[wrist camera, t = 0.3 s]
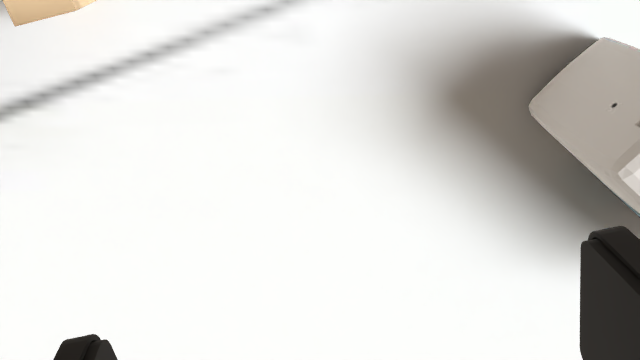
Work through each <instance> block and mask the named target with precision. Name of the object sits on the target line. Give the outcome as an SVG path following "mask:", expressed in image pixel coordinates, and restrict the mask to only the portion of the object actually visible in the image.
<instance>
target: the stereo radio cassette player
mask: <svg viewBox="0 0 640 360" xmlns="http://www.w3.org/2000/svg"><path fill="white" fill-rule="evenodd" d="M528 106H529V110H530V113H531V115H532V116H533V117H534V118H535V119H536V120H537V121H538V122H539V123H540V124H541V125H542V126H543V127H544V128H545V129H546V130H547V131H548V132H549V133H550V134H551V135H552V136H553V137H554V138H555V139H556V140H557V141H559V142H560V143H561V144H562V145H563V146H564V147H565V148H566V149H567V150H568V151H569V152H570V153H572V154H573V155H574V156H575V157H576V158H577V159H578V160H579V161H580V162H581V163H582V164H583V165H585V166H586V167H587V168H588V169H589V170H590V171H591V173H592V174H593V175H594V176H596V177H597V178H598V179H599V180H600V181H601V182H602V183H603V184H604V185H605V186H606V187H608V188H609V189H610V190H611V191H612V192H613V193H614V194H615V195H616V196H617V197H618V198H619V199H620V200H622V201H623V202H624V203H625V204H626V205H627V206H628V207H629V208H630V209H631V210H632V211H633V212H635V213H636V214H637V215H638V216H639V217H640V49H638V48H635V47H632V46H629V45H627V44H624V43H621V42H619V41H616V40H613V39H610V38H605V37H604V38H601V39H599V40H598V41H596V42H595V43H594V44H592V45H591V46H590V47H589V48H587V49H586V50H585V51H584V52H582V53H581V54H580V55H579V56H578V57H576V58H575V59H574V60H573V61H571V62H570V63H569V64H568V65H567V66H566V67H565V68H564V69H563V70H562V71H561V72H559V73H558V74H557V75H556V76H555V77H554V78H553V79H552V80H551V81H550V82H549V83H548V84H547V85H546V86H545V87H544V88H543V89H542V90H541V91H540V92H539V93H538V94H537V95H536V96H535V97H534V98H533V99H532V100H531V102H530V104H529V105H528Z"/></svg>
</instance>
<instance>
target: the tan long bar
mask: <svg viewBox="0 0 640 360" xmlns="http://www.w3.org/2000/svg"><path fill="white" fill-rule="evenodd" d="M94 1H96V0H3V2H4V4H5V6H6V8H7V11H8V13H9V15H10V17H11V19H12V21H13V24H14V26H19V25H23V24H27V23H30V22H34V21H38V20H42V19H46V18H50V17H53V16H57V15H61V14H65V13H69V12H73V11H76V10H78V9H80V8H82V7H84V6H86V5H88V4H90V3H92V2H94Z"/></svg>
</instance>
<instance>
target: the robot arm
mask: <svg viewBox="0 0 640 360" xmlns="http://www.w3.org/2000/svg"><path fill="white" fill-rule="evenodd" d="M580 351H581V355H582V358H583V360H640V239H638V238H637V237H636V236H635V235H634V234H633V233H632V232H630V231H629V230H628V229H627V228H625V227H624V226H618V227H613V228H608V229H603V230H598V231H593V232H592V233H590V235H589V238H588V240H587V241H584V242H582V244H581V276H580ZM54 360H117V357H116V355H115V353H114V351H113V349H112V347H111V344H110V343H109V341H107V340H100V338H99V337H98V336H97V335H95V334H92V335H87V336H82V337H77V338H72V339H67V340H65V341H63V342H62V344H61V345H60V347H59V349H58V351H57V354H56V356H55V358H54Z"/></svg>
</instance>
